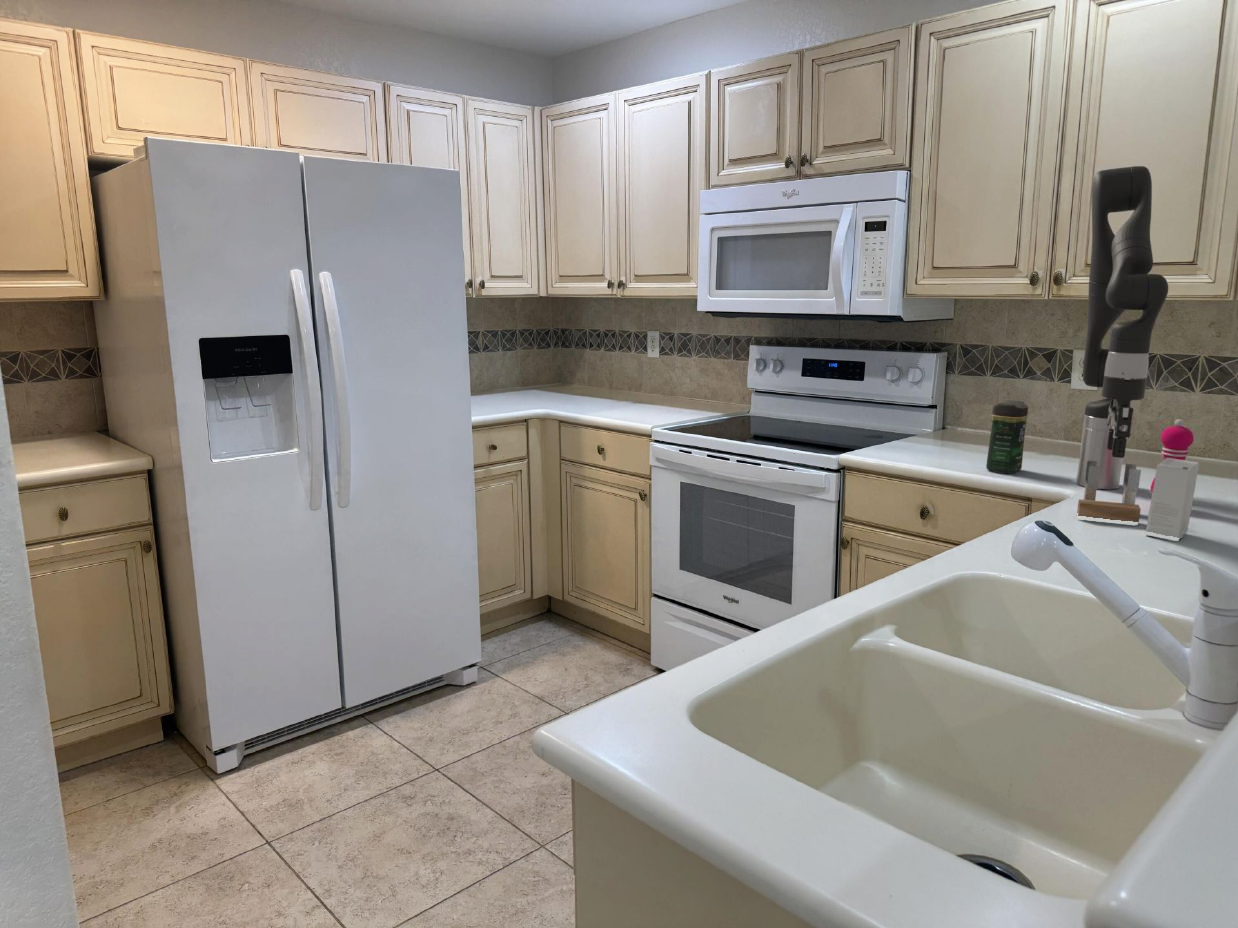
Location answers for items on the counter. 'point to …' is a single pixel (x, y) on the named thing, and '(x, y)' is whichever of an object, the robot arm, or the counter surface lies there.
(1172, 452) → the pepper mill
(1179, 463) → the skincare box
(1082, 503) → the rail
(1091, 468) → the bracket
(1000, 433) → the coffee jar
